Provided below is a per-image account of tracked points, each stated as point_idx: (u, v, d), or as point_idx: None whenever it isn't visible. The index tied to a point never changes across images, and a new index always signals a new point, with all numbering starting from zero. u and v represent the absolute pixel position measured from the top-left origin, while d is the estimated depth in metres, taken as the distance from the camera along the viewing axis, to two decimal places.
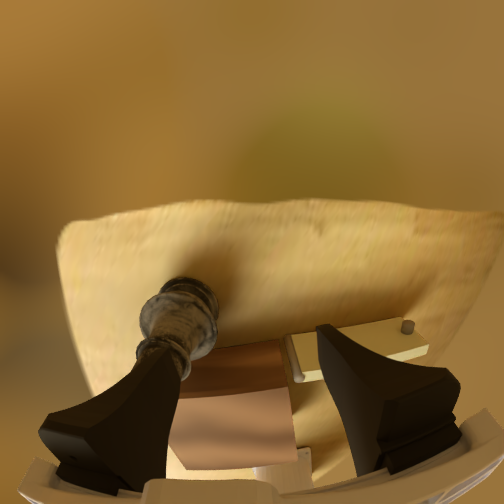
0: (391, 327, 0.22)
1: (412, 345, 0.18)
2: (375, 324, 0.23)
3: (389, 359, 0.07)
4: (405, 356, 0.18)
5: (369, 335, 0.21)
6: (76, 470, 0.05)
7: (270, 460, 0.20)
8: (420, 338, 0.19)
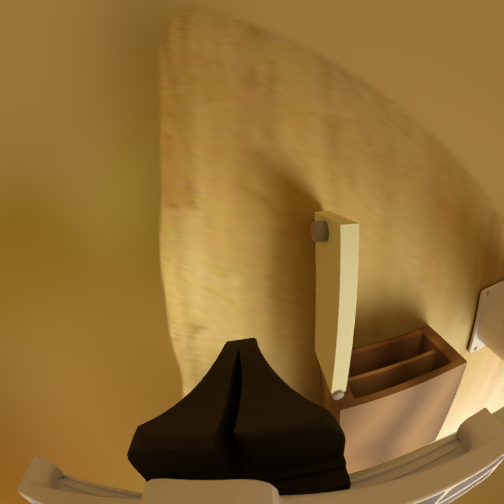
0: (321, 244, 0.17)
1: (337, 251, 0.14)
2: (317, 258, 0.18)
3: (283, 385, 0.07)
4: (350, 270, 0.13)
5: (323, 284, 0.17)
6: None
7: (450, 388, 0.16)
8: (333, 226, 0.14)
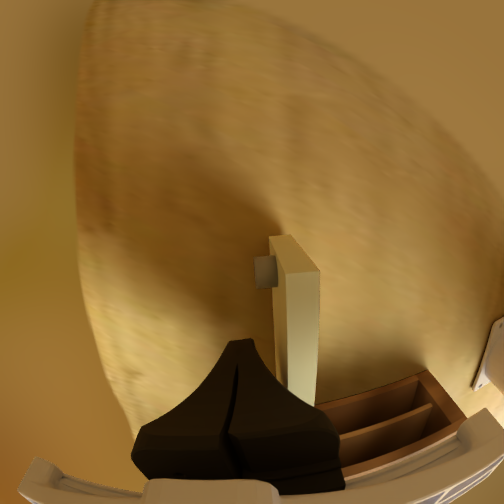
0: None
1: (285, 312, 0.09)
2: (273, 300, 0.13)
3: (279, 386, 0.07)
4: (304, 341, 0.08)
5: (278, 341, 0.12)
6: None
7: None
8: (280, 270, 0.09)
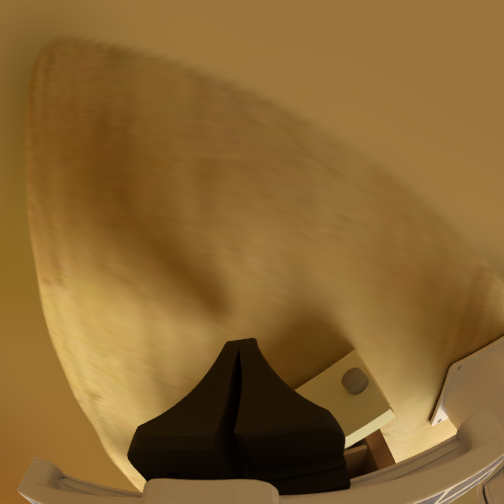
0: (335, 383, 0.14)
1: (360, 420, 0.10)
2: (315, 382, 0.15)
3: (283, 385, 0.07)
4: (352, 439, 0.10)
5: None
6: None
7: None
8: (377, 397, 0.11)
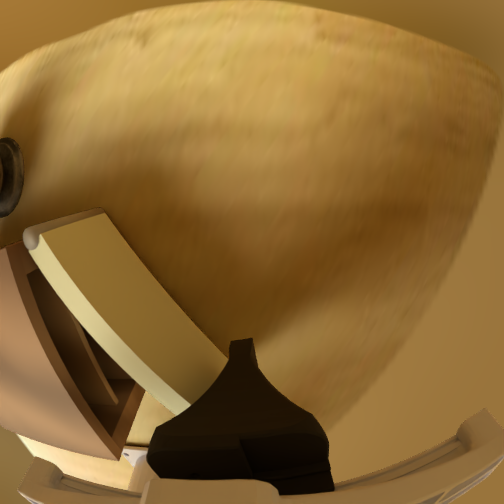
0: (212, 361, 0.13)
1: None
2: (199, 335, 0.14)
3: (270, 388, 0.07)
4: None
5: (176, 332, 0.12)
6: None
7: (72, 442, 0.09)
8: None
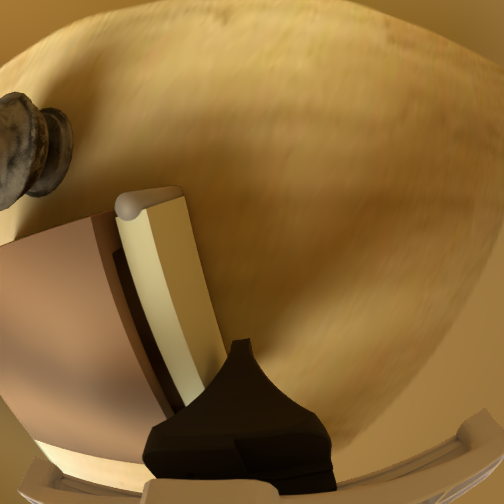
0: None
1: None
2: (222, 348, 0.14)
3: (272, 387, 0.07)
4: None
5: (213, 344, 0.12)
6: None
7: (137, 453, 0.09)
8: None
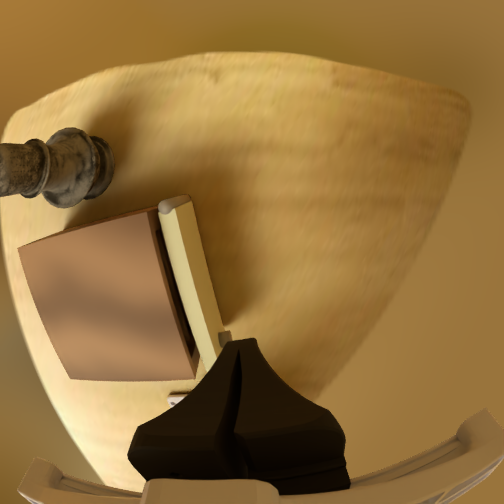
0: (217, 320, 0.20)
1: (215, 349, 0.17)
2: (215, 301, 0.21)
3: (283, 385, 0.07)
4: (203, 343, 0.17)
5: (208, 294, 0.19)
6: None
7: (155, 369, 0.16)
8: None
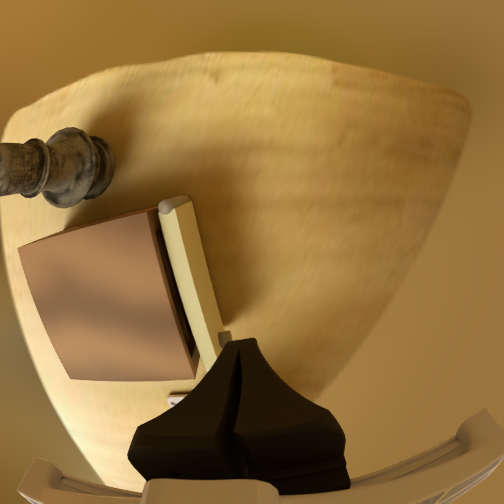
0: (217, 320, 0.20)
1: (215, 349, 0.17)
2: (215, 301, 0.21)
3: (283, 385, 0.07)
4: (203, 343, 0.17)
5: (208, 294, 0.19)
6: None
7: (155, 369, 0.16)
8: None
